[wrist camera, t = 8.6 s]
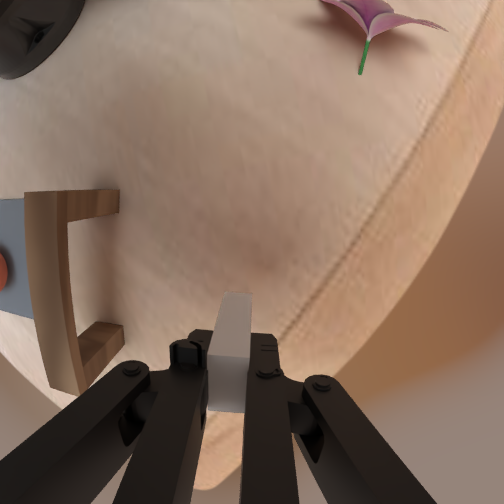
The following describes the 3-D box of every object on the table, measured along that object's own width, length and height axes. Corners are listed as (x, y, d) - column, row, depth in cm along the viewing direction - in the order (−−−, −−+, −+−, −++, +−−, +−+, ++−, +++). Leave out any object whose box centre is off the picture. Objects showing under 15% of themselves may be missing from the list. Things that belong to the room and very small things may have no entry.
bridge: (98, 339, 27) (50, 387, 18) (91, 189, 25) (24, 192, 15) (124, 344, 27) (80, 397, 18) (119, 189, 24) (57, 191, 15)
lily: (433, 69, 22) (461, -5, 13) (404, 134, 20) (448, 32, 11) (327, 23, 25) (333, -51, 16) (268, 71, 23) (263, -29, 14)
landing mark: (-26, 201, 25) (-27, 201, 25) (43, 198, 25) (41, 198, 25) (-17, 304, 27) (-18, 304, 27) (52, 322, 27) (51, 323, 27)
